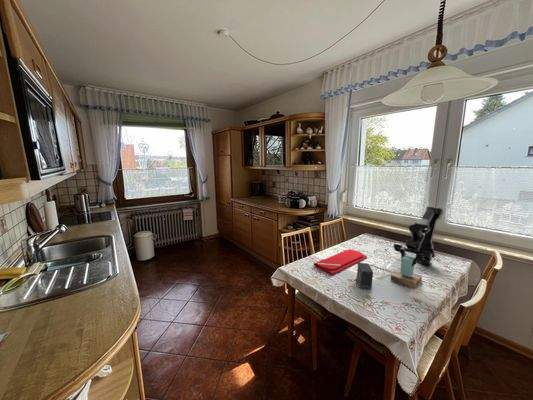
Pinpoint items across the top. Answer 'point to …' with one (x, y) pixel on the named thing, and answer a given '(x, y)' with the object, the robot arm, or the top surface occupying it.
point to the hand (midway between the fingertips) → (407, 264)
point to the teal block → (407, 266)
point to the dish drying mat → (340, 261)
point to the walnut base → (406, 279)
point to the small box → (364, 276)
